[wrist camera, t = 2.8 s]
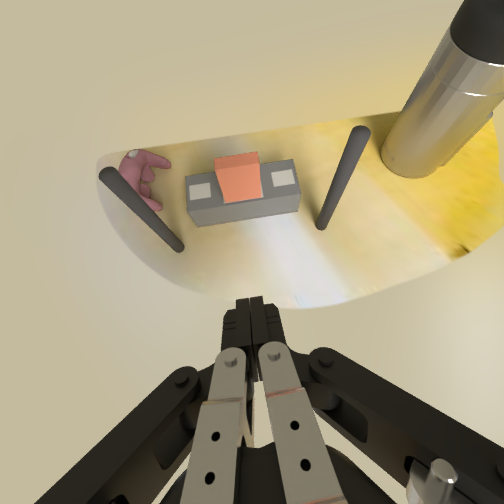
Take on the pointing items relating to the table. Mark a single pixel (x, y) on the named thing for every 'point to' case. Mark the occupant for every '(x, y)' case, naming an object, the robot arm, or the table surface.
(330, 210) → the cord posts
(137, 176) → the video game controller
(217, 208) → the breaker block
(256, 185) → the block
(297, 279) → the table surface
